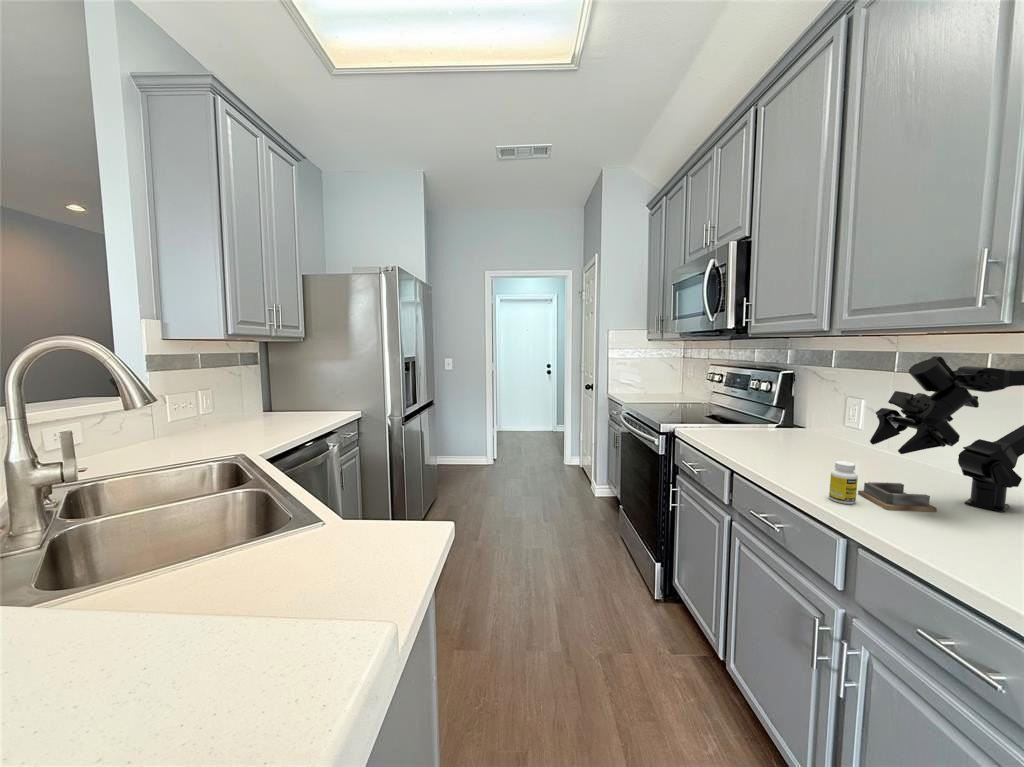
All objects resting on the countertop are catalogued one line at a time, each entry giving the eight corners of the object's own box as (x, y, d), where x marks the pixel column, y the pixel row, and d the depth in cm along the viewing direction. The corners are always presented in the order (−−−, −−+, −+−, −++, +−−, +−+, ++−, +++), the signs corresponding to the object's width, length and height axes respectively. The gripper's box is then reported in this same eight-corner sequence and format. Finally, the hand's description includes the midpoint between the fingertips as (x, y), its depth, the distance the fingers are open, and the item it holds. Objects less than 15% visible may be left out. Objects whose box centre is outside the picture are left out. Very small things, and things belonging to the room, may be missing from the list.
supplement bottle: (847, 506, 107) (849, 467, 106) (824, 498, 112) (826, 461, 111) (860, 502, 109) (863, 464, 108) (837, 495, 114) (840, 459, 113)
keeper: (902, 495, 113) (904, 482, 113) (936, 511, 103) (937, 497, 102) (858, 494, 115) (858, 481, 114) (886, 509, 104) (887, 495, 104)
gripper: (888, 377, 114) (838, 416, 116) (953, 385, 95) (892, 431, 97) (916, 408, 114) (865, 447, 116) (987, 422, 95) (925, 468, 97)
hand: (884, 447), depth 107 cm, fingers open, 9 cm apart
